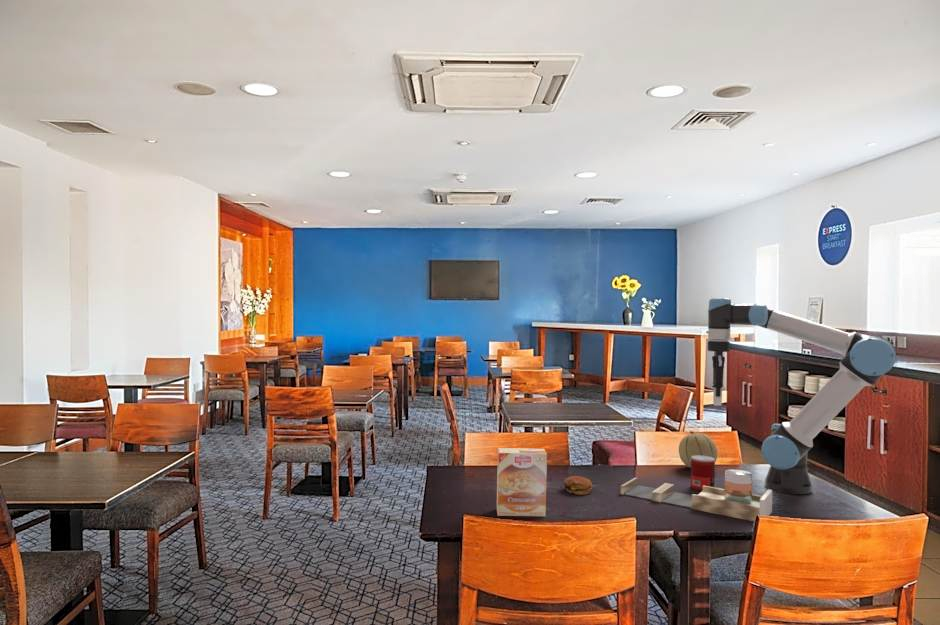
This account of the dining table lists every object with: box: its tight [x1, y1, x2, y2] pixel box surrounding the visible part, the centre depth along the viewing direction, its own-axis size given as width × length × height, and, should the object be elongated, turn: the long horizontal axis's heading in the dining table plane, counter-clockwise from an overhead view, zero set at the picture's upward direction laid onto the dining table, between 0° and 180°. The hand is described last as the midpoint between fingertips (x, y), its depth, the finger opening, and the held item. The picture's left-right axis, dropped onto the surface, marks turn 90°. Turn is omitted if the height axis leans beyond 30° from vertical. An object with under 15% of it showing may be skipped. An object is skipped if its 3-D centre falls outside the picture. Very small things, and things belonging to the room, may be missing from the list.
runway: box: [620, 477, 763, 522], centre depth 205 cm, size 44×13×4 cm, turn 54°
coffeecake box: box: [496, 447, 548, 517], centre depth 192 cm, size 15×7×20 cm, turn 90°
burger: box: [563, 475, 594, 496], centre depth 216 cm, size 10×9×5 cm
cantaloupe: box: [678, 430, 719, 469], centre depth 248 cm, size 15×15×15 cm
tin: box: [723, 469, 753, 504], centre depth 198 cm, size 8×8×9 cm
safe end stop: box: [749, 488, 773, 516], centre depth 195 cm, size 12×13×7 cm
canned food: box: [690, 455, 716, 492], centre depth 222 cm, size 8×8×11 cm
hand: (717, 405), depth 225 cm, fingers closed
